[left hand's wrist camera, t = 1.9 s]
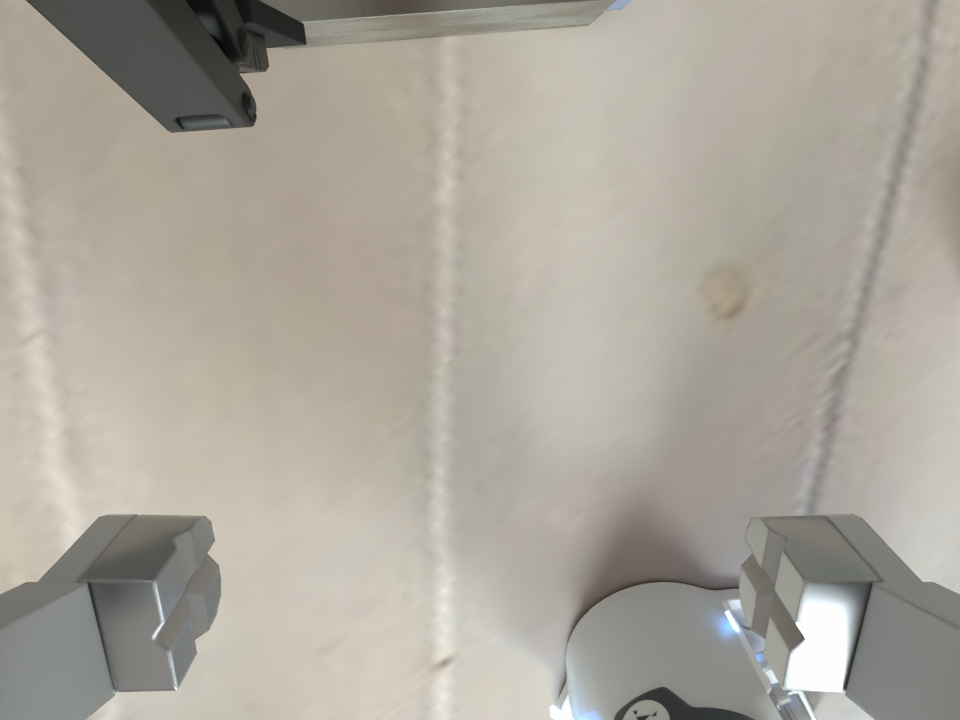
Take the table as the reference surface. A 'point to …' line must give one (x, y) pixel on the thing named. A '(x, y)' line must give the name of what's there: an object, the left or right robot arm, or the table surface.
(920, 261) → the table surface
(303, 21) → the cabinet
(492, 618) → the table surface
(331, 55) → the table surface
